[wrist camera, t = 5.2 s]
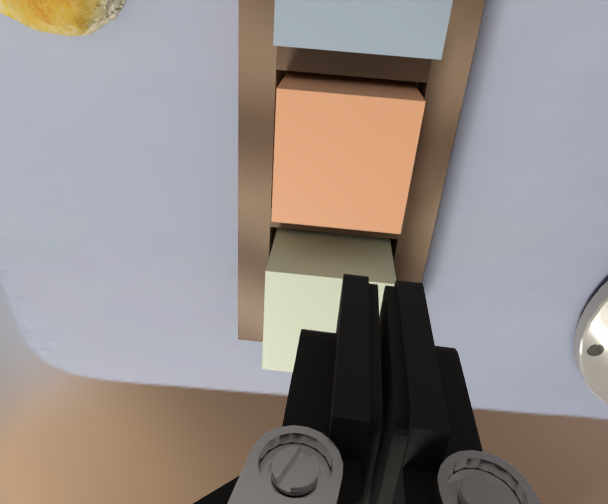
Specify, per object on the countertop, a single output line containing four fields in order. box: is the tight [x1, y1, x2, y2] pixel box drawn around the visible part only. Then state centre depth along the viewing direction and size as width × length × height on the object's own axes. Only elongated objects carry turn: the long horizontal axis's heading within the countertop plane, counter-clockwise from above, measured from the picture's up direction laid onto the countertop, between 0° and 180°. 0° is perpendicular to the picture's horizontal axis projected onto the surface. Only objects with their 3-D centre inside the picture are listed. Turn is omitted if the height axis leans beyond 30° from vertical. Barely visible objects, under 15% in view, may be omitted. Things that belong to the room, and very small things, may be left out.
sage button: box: [262, 228, 396, 372], centre depth 23 cm, size 5×5×4 cm
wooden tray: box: [238, 0, 486, 342], centre depth 22 cm, size 22×9×3 cm, turn 176°
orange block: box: [271, 71, 426, 234], centre depth 21 cm, size 5×5×4 cm
